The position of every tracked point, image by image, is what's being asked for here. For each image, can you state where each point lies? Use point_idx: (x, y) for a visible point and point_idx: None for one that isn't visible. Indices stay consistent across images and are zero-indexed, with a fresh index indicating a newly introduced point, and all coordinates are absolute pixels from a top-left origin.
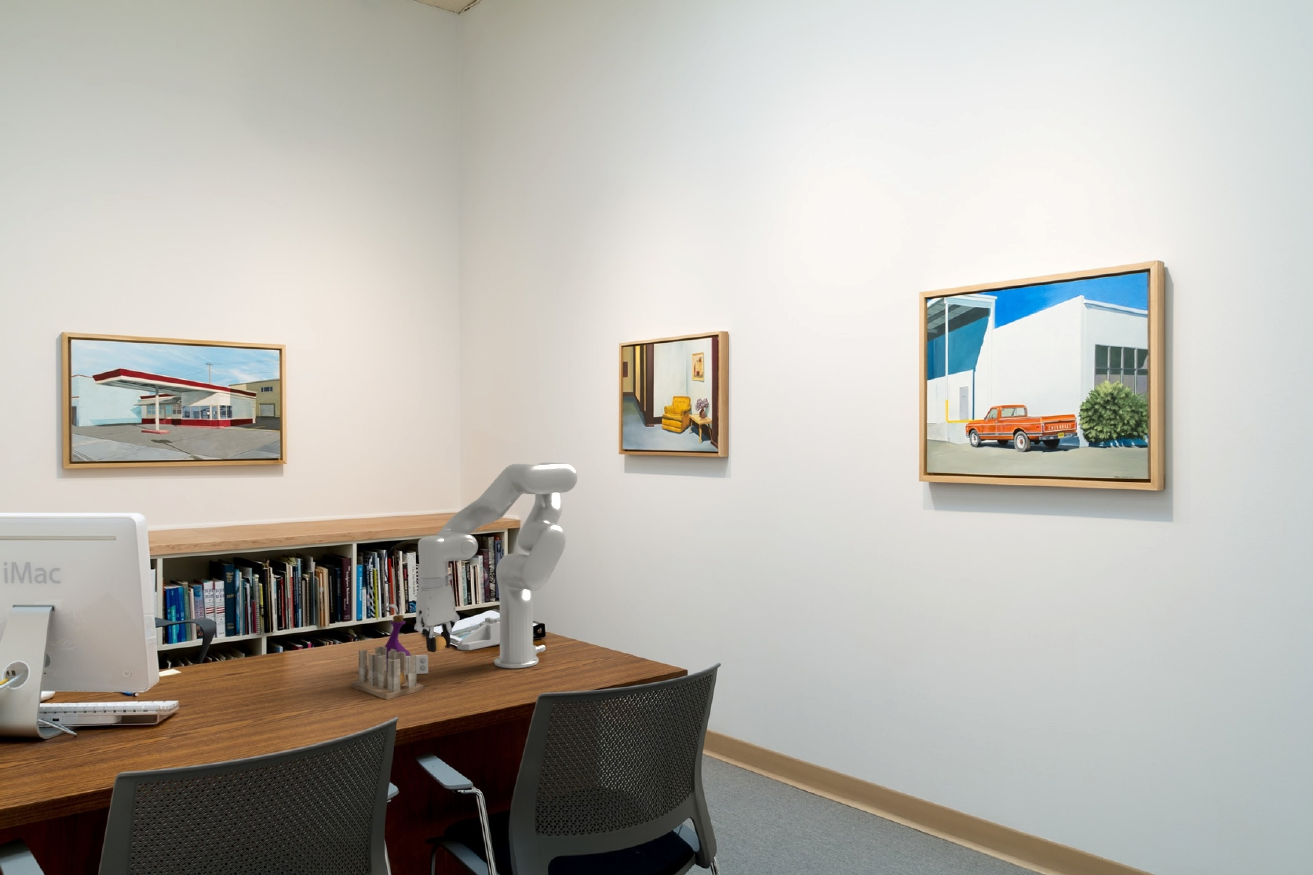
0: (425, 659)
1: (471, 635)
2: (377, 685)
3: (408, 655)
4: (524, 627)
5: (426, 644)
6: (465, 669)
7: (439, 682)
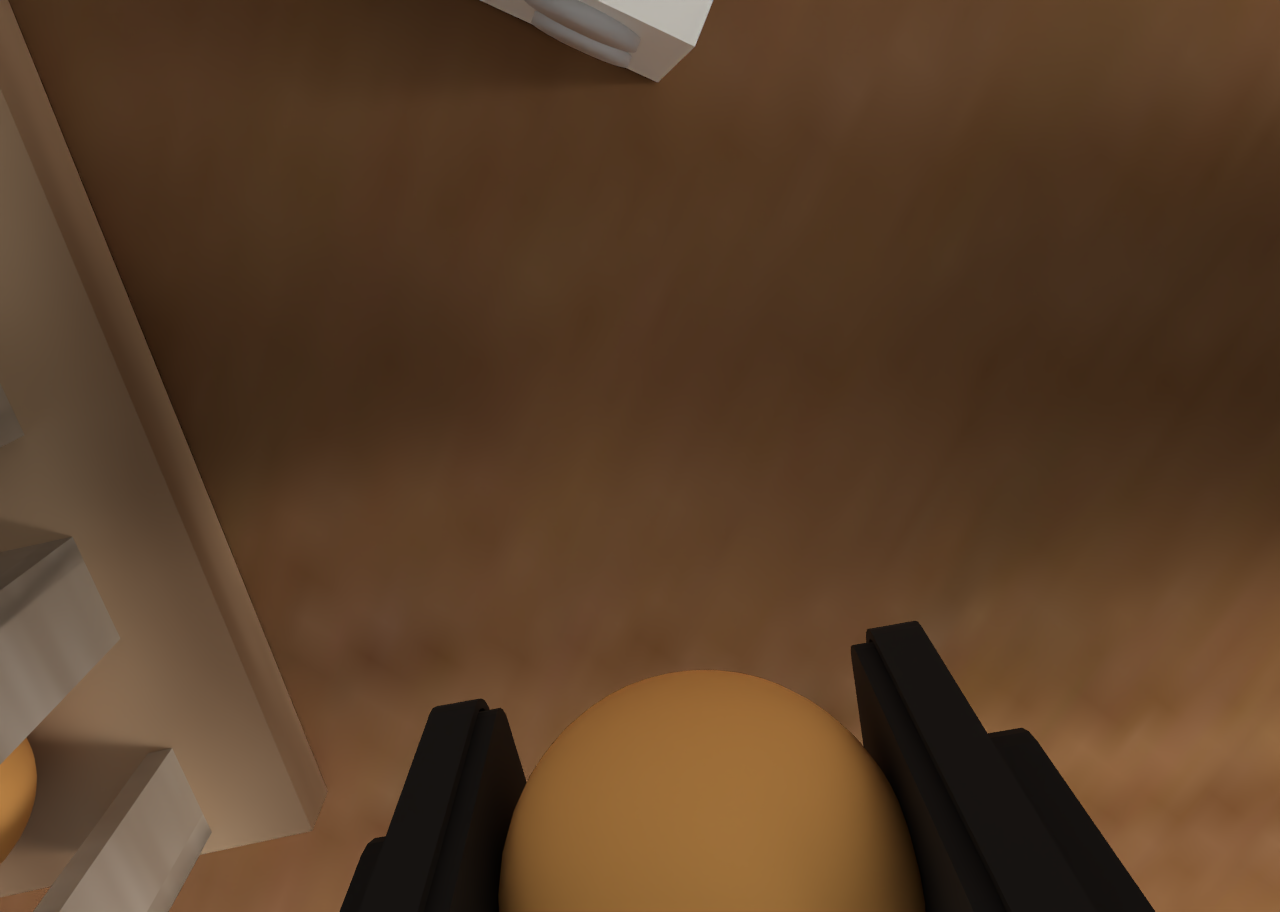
0: (632, 43)
1: None
2: None
3: None
4: None
5: (344, 907)
6: (1165, 242)
7: (591, 620)
